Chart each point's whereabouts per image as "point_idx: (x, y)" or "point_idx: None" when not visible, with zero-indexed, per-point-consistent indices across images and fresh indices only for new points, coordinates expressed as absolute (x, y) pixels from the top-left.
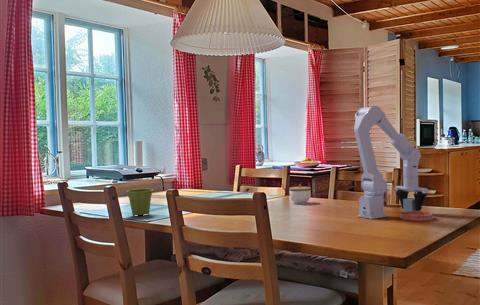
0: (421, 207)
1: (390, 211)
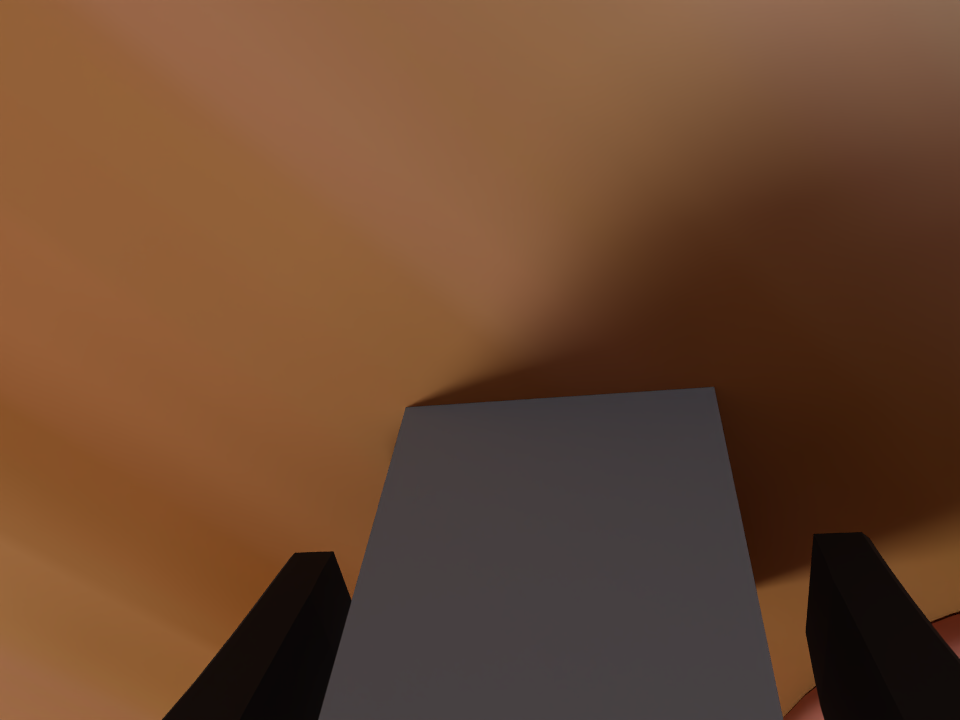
0: (907, 597)
1: (129, 620)
